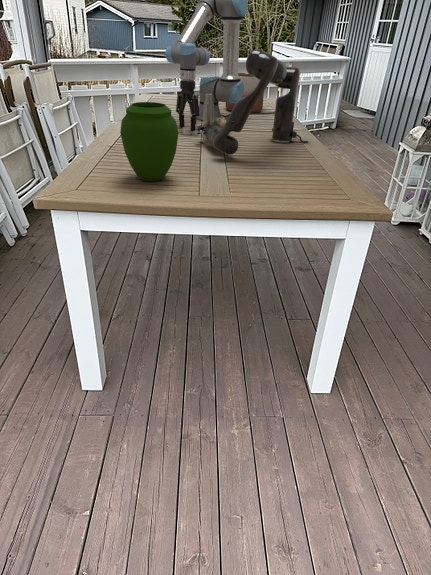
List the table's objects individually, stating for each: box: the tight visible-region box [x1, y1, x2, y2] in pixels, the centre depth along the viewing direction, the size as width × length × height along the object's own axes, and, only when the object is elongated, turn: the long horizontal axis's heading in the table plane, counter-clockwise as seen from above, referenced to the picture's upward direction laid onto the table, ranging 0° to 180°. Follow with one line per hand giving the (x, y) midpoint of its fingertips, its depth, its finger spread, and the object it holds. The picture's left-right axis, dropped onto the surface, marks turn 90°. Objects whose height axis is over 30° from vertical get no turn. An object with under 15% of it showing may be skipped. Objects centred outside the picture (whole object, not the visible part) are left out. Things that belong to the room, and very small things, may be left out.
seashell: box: [213, 116, 227, 127], centre depth 214 cm, size 10×6×8 cm, turn 97°
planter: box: [225, 72, 265, 113], centre depth 276 cm, size 25×25×22 cm
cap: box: [182, 127, 193, 136], centre depth 211 cm, size 5×5×3 cm
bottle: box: [201, 94, 214, 145], centre depth 192 cm, size 5×5×21 cm
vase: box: [119, 101, 179, 182], centre depth 140 cm, size 20×20×24 cm
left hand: (187, 129), depth 211 cm, fingers open, 8 cm apart
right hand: (206, 127), depth 196 cm, fingers closed on bottle, 5 cm apart
